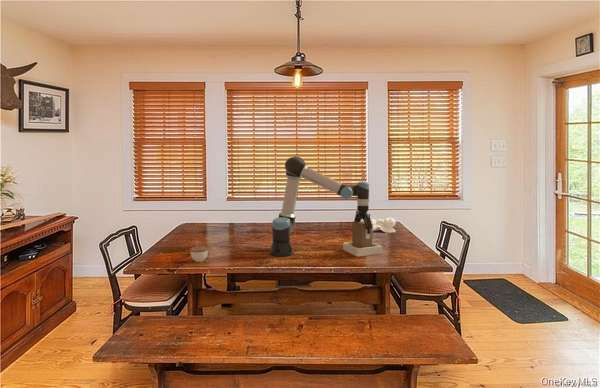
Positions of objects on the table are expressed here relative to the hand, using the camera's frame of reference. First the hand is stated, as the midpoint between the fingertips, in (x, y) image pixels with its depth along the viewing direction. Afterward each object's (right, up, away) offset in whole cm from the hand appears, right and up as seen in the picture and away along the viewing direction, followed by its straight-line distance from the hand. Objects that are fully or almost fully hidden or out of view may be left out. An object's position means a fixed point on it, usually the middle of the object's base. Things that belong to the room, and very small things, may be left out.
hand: (362, 236), depth 270 cm
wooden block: (0, -11, +1) cm, 11 cm away
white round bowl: (-106, -13, -18) cm, 108 cm away
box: (0, -10, +1) cm, 11 cm away
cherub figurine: (+28, -3, +67) cm, 72 cm away
